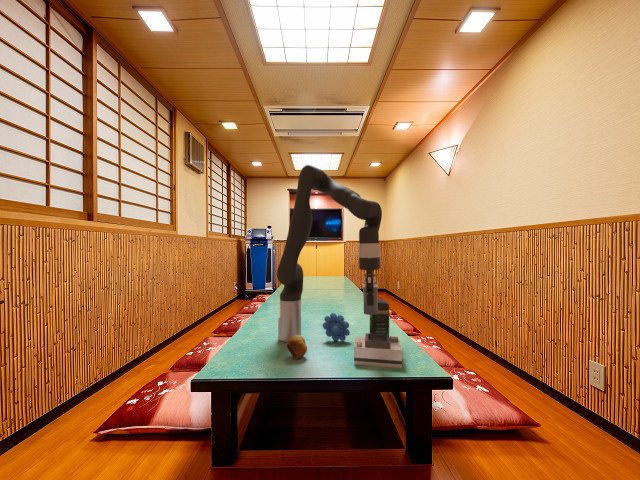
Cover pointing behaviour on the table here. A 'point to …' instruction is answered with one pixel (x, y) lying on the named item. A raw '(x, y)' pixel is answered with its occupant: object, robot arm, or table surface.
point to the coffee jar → (380, 319)
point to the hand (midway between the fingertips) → (370, 303)
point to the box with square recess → (378, 351)
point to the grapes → (336, 327)
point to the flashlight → (373, 309)
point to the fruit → (297, 346)
